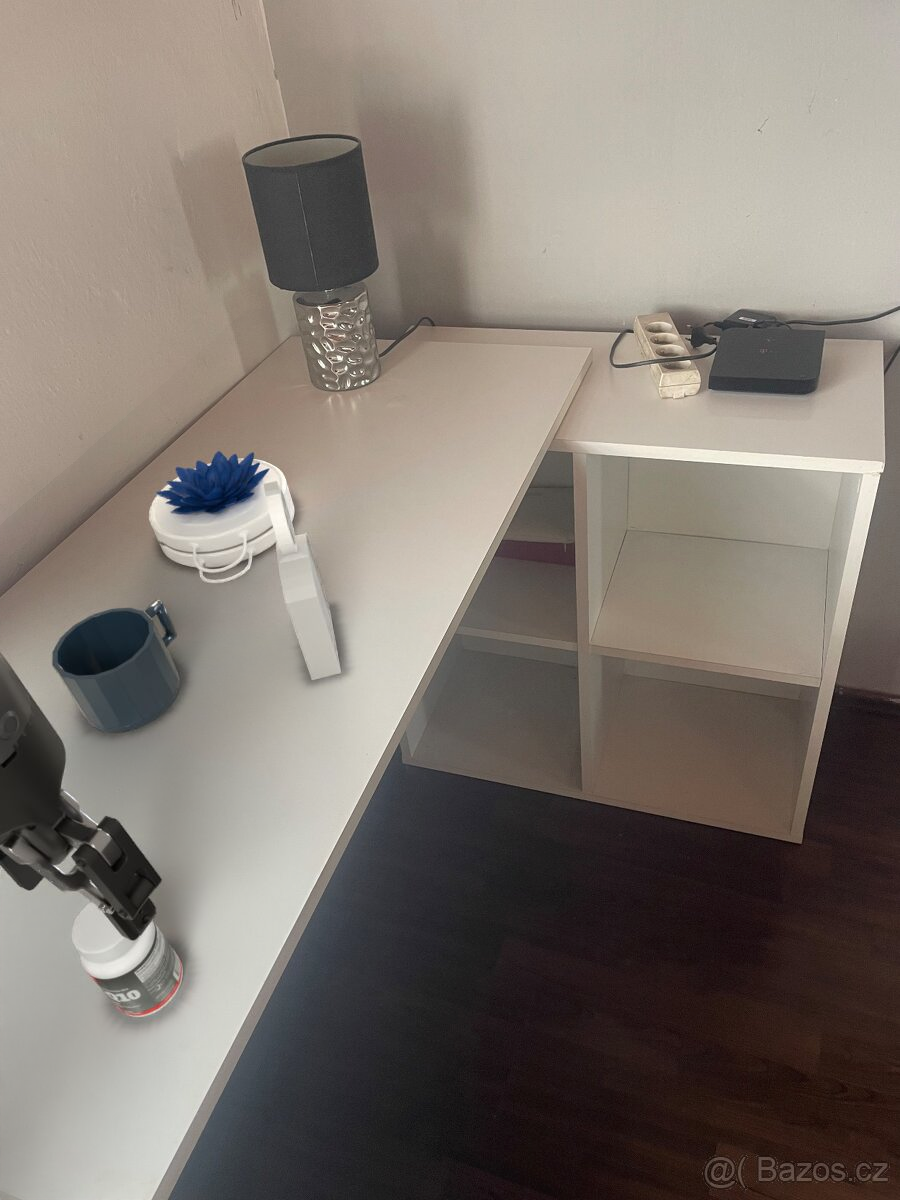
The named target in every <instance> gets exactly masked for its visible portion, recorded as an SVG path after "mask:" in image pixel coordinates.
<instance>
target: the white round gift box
mask: <svg viewBox="0 0 900 1200" xmlns="http://www.w3.org/2000/svg"><path fill="white" fill-rule="evenodd" d="M254 457H255V452H253V451H252V452H250V453H249V454H247V455H246V456H245V457H244V458H239V457H238V455H237V454H236V453H234V454H232V455H231V456H230V457H229V458H227V457H226V456H225V455H224V454H223V452H222V451H219V450H218V451H216V452H215V454H214V456H213V458H212V459H211V462H209V463H206V462H204V461H201V460H197V461H196V463H195V468H191V467H188V468H184V467H180V466H177V467H175V473H176V476H177V477H176V478H174V479H173V480H168V481H166V483H167V484H166V485H165V486H164V487H162V489H161V490H159V491H156V492H155V497H154V499H153V501H152V502H151V504H150V507H149V511H148V519H149V523H150V526H151V527H152V530H153V532H154V534H155V537H156V539H157V540H156V542H157V544H158V545H159V546H160V547H161V550H162V553H164V555H165V556H166V557H167V558H169V559H170V560H171V561H173V562H175V563H177V564H180V565H183V566H186V567H190V568H196V569H198V571H199V572H198V573H199V577H200V579H201V581H202V582H204V583H208V584H222V583H227V582H231V581H233V580H235V579H236V580H237V579H238V578H240V577H242V576H243V575H245V574H246V573H247V572H248V571H249V570H250V569H251V566H252V563H253V557H255V556H257V555H259V554H261V553H264V552H265V551H266V550H268V549H269V548H271V547H272V546H274V545H276V541H277V539H276V535H275V532H274V529H273V525H272V521H271V517H270V513H269V509H268V505H267V499H266V494H265V491H264V484H266V483H270V482H274V481H277V483H278V484H280V485H281V488H282V490H283V493H284V496H285V499H286V502H287V505H288V509H289V513H290V516H291V520H292V522H293V521H294V517H295V504H294V502H293V499H292V496H291V495H292V494H291V492H290V489H289V485H288V482H287V479H286V476H285V474H284V473H283V471H282V470H281V469H280V468H279V467H277V466H275V465H274V464H272V463H270V462H267V461H265V460H261V459H255V458H254ZM247 560H248V563H247V565H246V566H245V568H243V569H242V570H241V571H240V572H237V573H236V574H234V575H231V576H229V577H226V578H221V579H210V578H207V577H205V576H204V573H208V574H217V573H218V574H219V573H222V572H226V571H228V570H231V569H232V568H234V567H235V566H238V565H239V564H240V563H241V562H243V561H247ZM219 567H220V568H219Z"/></svg>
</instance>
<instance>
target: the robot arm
mask: <svg viewBox="0 0 900 1200" xmlns="http://www.w3.org/2000/svg"><path fill="white" fill-rule="evenodd" d="M66 753H67V752H66V748H65V745H64V742H63V740H62V738H61V737H60V735H59V734H58V732H57V731H56V730H55V728H54V727H53V725H52V724H51V722H50V720H49V719H48V718H47V716H46V715H45V714H44V712H43V710H42V709H41V708H40V706H39V705H38V703H37V702H36V700H35V699H34V698H33V696H32V695H31V693H30V692H29V690H28V689H27V687H26V686H25V685H24V683H23V682H22V680H21V679H20V678H19V675H18V674H17V673H16V672H15V669H13V667H12V665H10V663H9V661H8V660H7V658H6V657H5V656H4V655H3V654H2V652H1V651H0V867H1V868H2V869H3V870H4V871H5V872H6V874H7V875H8V876H9V877H10V878H11V879H12V881H14V882H15V883H16V885H17V886H18V887H20V888H21V889H24V890H26V891H29V892H30V891H32V890H34V889H35V888H37V886H38V885H39V884H40V883H41V882H42V881H43V879H46V880H47V881H48V882H49V883H51V884H52V885H53V886H54V887H56V888H57V889H58V890H60V891H61V892H62V893H72V892H78V893H80V894H81V895H83V896H84V897H85V898H86V899H88V900H89V901H90V902H91V901H92V902H93V903H94V904H95V905H97V906H98V907H97V908H98V909H99V910H100V911H102V912H103V913H104V914H105V916H106V917H107V918H108V919H109V921H110V922H111V923H112V924H113V926H114V927H115V928H116V929H117V930H118V932H119V933H120V934H121V935H122V936H123V937H125V938H127V939H129V940H131V941H134V940H136V939H137V938H138V937H139V936H141V935H142V934H143V932H144V931H145V929H146V928H147V927H148V925H149V924H150V923H151V921H152V920H153V921H154V919H155V917H156V916H157V913H158V912H157V907H156V905H155V903H154V902H153V901H152V899H151V897H150V896H151V895H152V894H153V893H154V891H155V890H156V889H157V888H158V887H159V886H160V884H161V883H162V882H163V878H162V877H161V876H160V874H159V873H158V872H157V870H156V869H155V868H154V867H153V864H151V862H150V861H149V860H148V858H147V857H146V856H145V854H144V853H143V852H142V851H141V849H140V847H139V846H138V845H137V844H136V842H135V841H134V839H133V837H132V836H130V834H129V833H128V831H127V830H126V829H125V827H124V826H123V825H122V824H121V822H120V821H119V820H118V819H117V818H115V817H112V816H108V815H104V817H103V818H102V819H101V820H100V821H99V822H98V823H97V822H96V821H94V820H93V819H92V818H91V817H90V816H88V815H87V814H86V813H85V812H83V811H82V810H81V808H80V804H79V801H78V800H76V799H75V798H74V797H73V796H72V795H71V794H70V793H68V792H67V791H66V790H65V789H63V788H62V783H63V776H64V773H65V769H66V762H67V756H66V755H67V754H66ZM74 849H76V850H75V851H74ZM72 851H74V852H73V854H72V855H71V859H72V861H73V862H75V863H74V864H75V865H74V866H73V867H72V869H71V870H70V871H69V872H68V873H66V872H63V870H61V869H60V868H59V867H58V866H57V865H60V864H61V863H63V862H64V861H65V859H67V857H68V856H69V855H70V854H71V853H72Z"/></svg>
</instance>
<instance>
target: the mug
mask: <svg viewBox="0 0 900 1200" xmlns="http://www.w3.org/2000/svg"><path fill="white" fill-rule="evenodd" d="M154 617H157V620H158V621H159V623H160V626H161V628H162V630H163V632H164V634H163V636H162V635H161V634H160V632H159V629H158V627H157V626H156V624H155V621H154V620H153V619H154ZM177 637H178V632H177V630H176V628H175V626H174V623H173V622H172V619H171V617H170V615H169V612H168V610H167V609H166V606H165V604H164V603H163V601H162V600H160V599H155V600H154V601H153V602H151V604H149V605H148V606H147V607H146V608H145V609H144V610H141V609H137V608H132V607H118V608H117V607H115V608H109V609H106V610H103V611H100V612H96V613H93V614H91V615H89V616H87V617H86V618H84V619H82V620H80V621H79V622H77V623H75V624H74V625H72V626H71V627H70V628H69V629H68V630H67V631H66V632H65V633H64V634H63V635H61V636H60V638H59V639H58V640H57V643H56V644H55V646H54V648H53V650H52V657H51V658H52V660H51V661H52V662H51V663H52V664H51V665H52V667H53V669H54V670H55V672H56V674H57V676H58V677H59V678H60V680H61V682H62V683H63V685H64V687H65V688H66V690H67V691H68V692H69V694H70V696H71V698H72V699H73V701H74V702H75V704H76V706H77V708H78V709H79V710H80V712H81V714H82V715H83V717H84V718H85V719H86V721H87V722H88V723H89V724H90V725H91V726H92V727H93V728H95V729H97V730H99V731H102V732H107V733H122V732H128V731H132V730H135V729H138V728H141V727H143V726H145V725H147V724H149V723H151V722H153V721H154V720H156V719H157V718H159V717H160V716H161V715H162V714H164V713H165V712H166V711H167V710H168V709H169V708H170V706H172V704H173V703H174V701H175V699H176V698H177V697H178V694H179V691H180V688H181V678H180V675H179V672H178V668H177V666H176V664H175V662H174V660H173V658H172V656H171V654H170V651H169V650H168V647H169V646H170V645H171V644H172V643H173V642H174V641H175V640H176V639H177Z"/></svg>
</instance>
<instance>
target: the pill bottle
mask: <svg viewBox="0 0 900 1200" xmlns="http://www.w3.org/2000/svg"><path fill="white" fill-rule="evenodd" d="M97 907H98V906H97V905H95V904H94V903H93V902H92V901H90V902H89V903H88V904H86V905H85V906H84V907H83V908H82V909H81V911H80V912H79V913H78V915H77V916H76V917H75V919H74V921H73V924H72V928H71V940H72V943H73V945H74V947H75V948H76V950H77V951H78V952H79V960H80V963H81V966H82V967H83V969H84V971H85V972H86V973H87V974H88V975H89V977H90V978H91V979H92V980H93V982H95V984H96V985H97V986H98V987H99V988H100V989H101V990H102V992H104V994H105V995H106V996H107V997H108V999H109V1000H110V1001H111V1002H112V1003H113V1005H115V1007H116V1008H117V1009H118V1010H119V1011H120V1012H121V1013H123V1014H124V1015H126V1016H129V1017H132V1018H143V1017H148V1016H152V1015H153V1014H156V1013H158V1012H159V1011H161V1010H162V1009H164V1007H166V1006H167V1005H168V1004H169V1003H170V1002H171V1001H172V1000H173V999H174V998H175V996H176V994H177V993H178V991H179V990H180V988H181V985H182V981H183V976H184V969H183V964H182V961H181V958H180V957H179V956H178V954H177V953H176V951H175V950H174V948H173V947H172V946H171V944H170V943H169V941H168V940H167V938H166V937H165V935H164V934H163V932H162V931H161V930H160V928H159V927H158V925H157V924H156V923H155V921H154V919H153V920H152V921H151V923H150V924H149V925H148V927H147V928H146V929H145V931H144V932H143V934H142V935H141V936H139V937H138V938H137V939H136V940H134V941H131V940H129V939H127V938H125V937H123V936H122V935H121V934H120V933H119V932H118V930H117V929H116V928H115V927H114V926H113V924H112V923H111V922H110V921H109V919H108V918H107V917H106V916H105V914H104V913H103V912H102V911H100V910H99V909H98V908H97Z"/></svg>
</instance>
